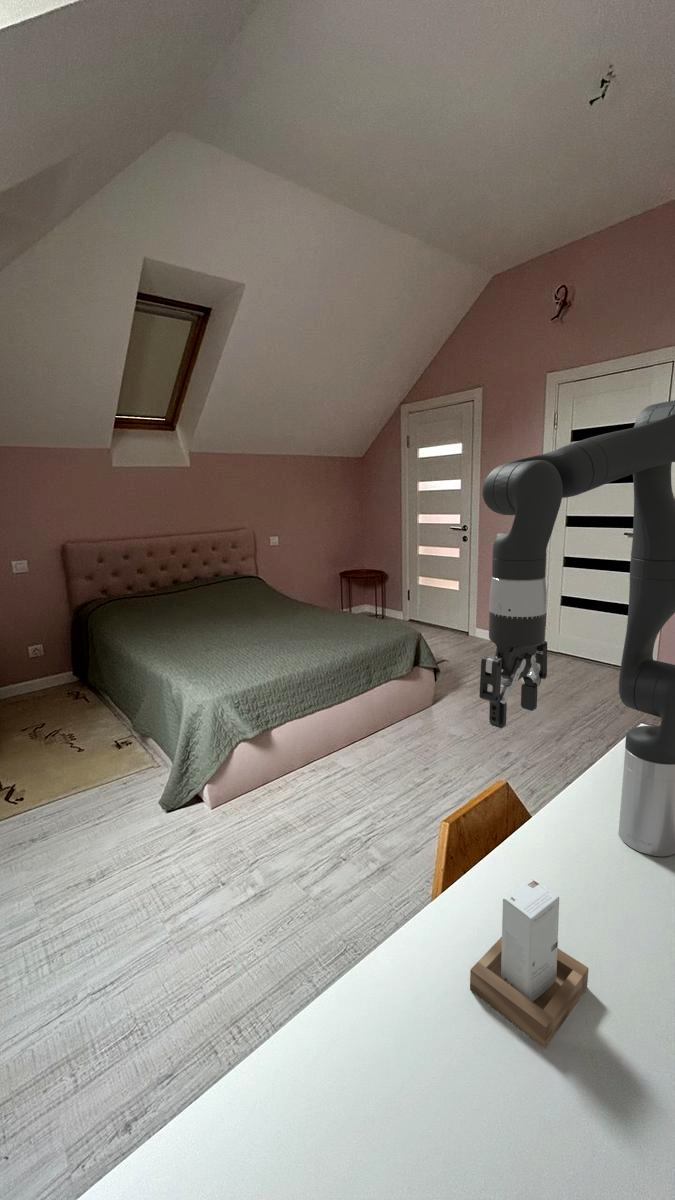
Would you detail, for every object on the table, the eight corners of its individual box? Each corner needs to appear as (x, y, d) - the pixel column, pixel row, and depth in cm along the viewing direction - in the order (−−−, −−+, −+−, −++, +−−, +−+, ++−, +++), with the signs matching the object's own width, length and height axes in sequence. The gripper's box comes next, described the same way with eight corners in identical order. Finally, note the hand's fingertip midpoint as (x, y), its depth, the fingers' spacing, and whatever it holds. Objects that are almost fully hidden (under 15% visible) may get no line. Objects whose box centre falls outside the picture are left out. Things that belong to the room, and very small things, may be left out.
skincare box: (528, 1008, 62) (532, 921, 60) (498, 980, 66) (500, 898, 64) (558, 980, 66) (563, 897, 63) (527, 955, 69) (531, 876, 67)
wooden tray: (515, 939, 73) (516, 921, 72) (587, 987, 66) (588, 967, 65) (470, 989, 66) (470, 969, 65) (544, 1049, 58) (545, 1027, 58)
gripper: (514, 621, 65) (511, 741, 68) (567, 604, 74) (561, 710, 77) (464, 613, 70) (463, 724, 73) (519, 598, 79) (515, 697, 82)
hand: (513, 717), depth 75 cm, fingers open, 8 cm apart
